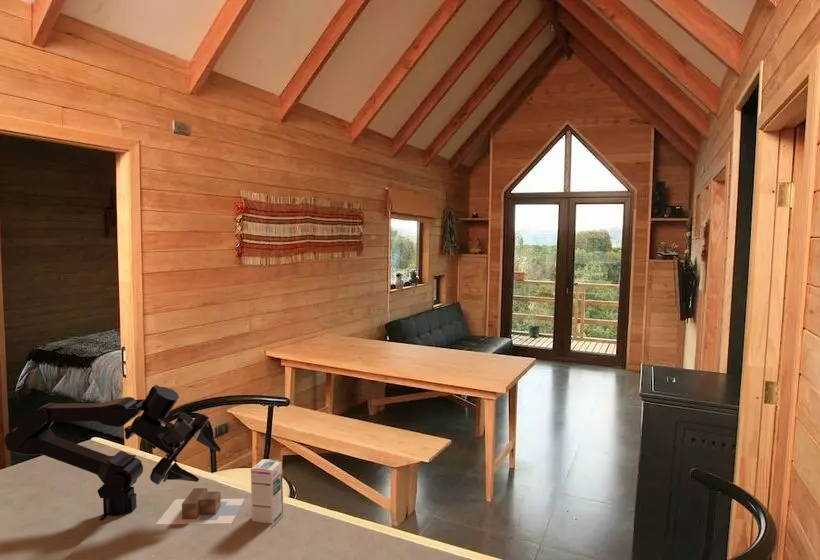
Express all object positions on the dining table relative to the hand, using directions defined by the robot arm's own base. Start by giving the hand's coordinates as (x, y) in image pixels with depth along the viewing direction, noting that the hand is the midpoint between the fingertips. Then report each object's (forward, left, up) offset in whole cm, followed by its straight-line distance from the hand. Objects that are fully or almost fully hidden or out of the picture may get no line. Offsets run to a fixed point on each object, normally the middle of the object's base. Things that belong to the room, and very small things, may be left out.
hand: (209, 465), depth 132 cm
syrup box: (+15, -3, -13) cm, 20 cm away
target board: (-2, 0, -13) cm, 13 cm away
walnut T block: (-2, 0, -12) cm, 12 cm away
